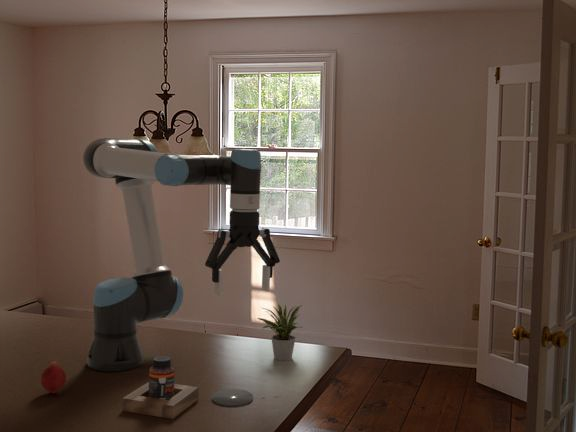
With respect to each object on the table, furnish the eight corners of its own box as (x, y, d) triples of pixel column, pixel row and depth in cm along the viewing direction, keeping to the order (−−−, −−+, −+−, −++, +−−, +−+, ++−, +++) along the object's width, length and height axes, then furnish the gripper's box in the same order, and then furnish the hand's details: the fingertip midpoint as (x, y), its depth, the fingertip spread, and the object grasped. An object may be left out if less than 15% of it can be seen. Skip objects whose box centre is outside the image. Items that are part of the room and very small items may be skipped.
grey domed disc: (205, 402, 163) (205, 400, 163) (221, 389, 172) (221, 386, 172) (243, 408, 160) (244, 406, 160) (258, 394, 169) (258, 392, 169)
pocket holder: (122, 410, 157) (122, 398, 156) (150, 392, 169) (150, 380, 169) (173, 418, 153) (173, 405, 152) (198, 399, 165) (198, 387, 165)
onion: (51, 399, 163) (51, 367, 162) (35, 394, 166) (35, 362, 165) (71, 392, 168) (70, 360, 167) (55, 387, 171) (55, 356, 170)
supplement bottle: (168, 410, 157) (168, 363, 156) (144, 408, 159) (144, 361, 157) (177, 401, 163) (178, 355, 162) (154, 399, 164) (154, 353, 163)
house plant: (281, 346, 211) (282, 295, 209) (317, 356, 202) (318, 302, 200) (250, 357, 200) (251, 302, 198) (286, 367, 191) (288, 310, 189)
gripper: (205, 212, 162) (203, 300, 164) (294, 210, 175) (291, 291, 177) (193, 209, 169) (191, 293, 171) (279, 207, 182) (277, 285, 184)
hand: (242, 292), depth 174 cm, fingers open, 13 cm apart
